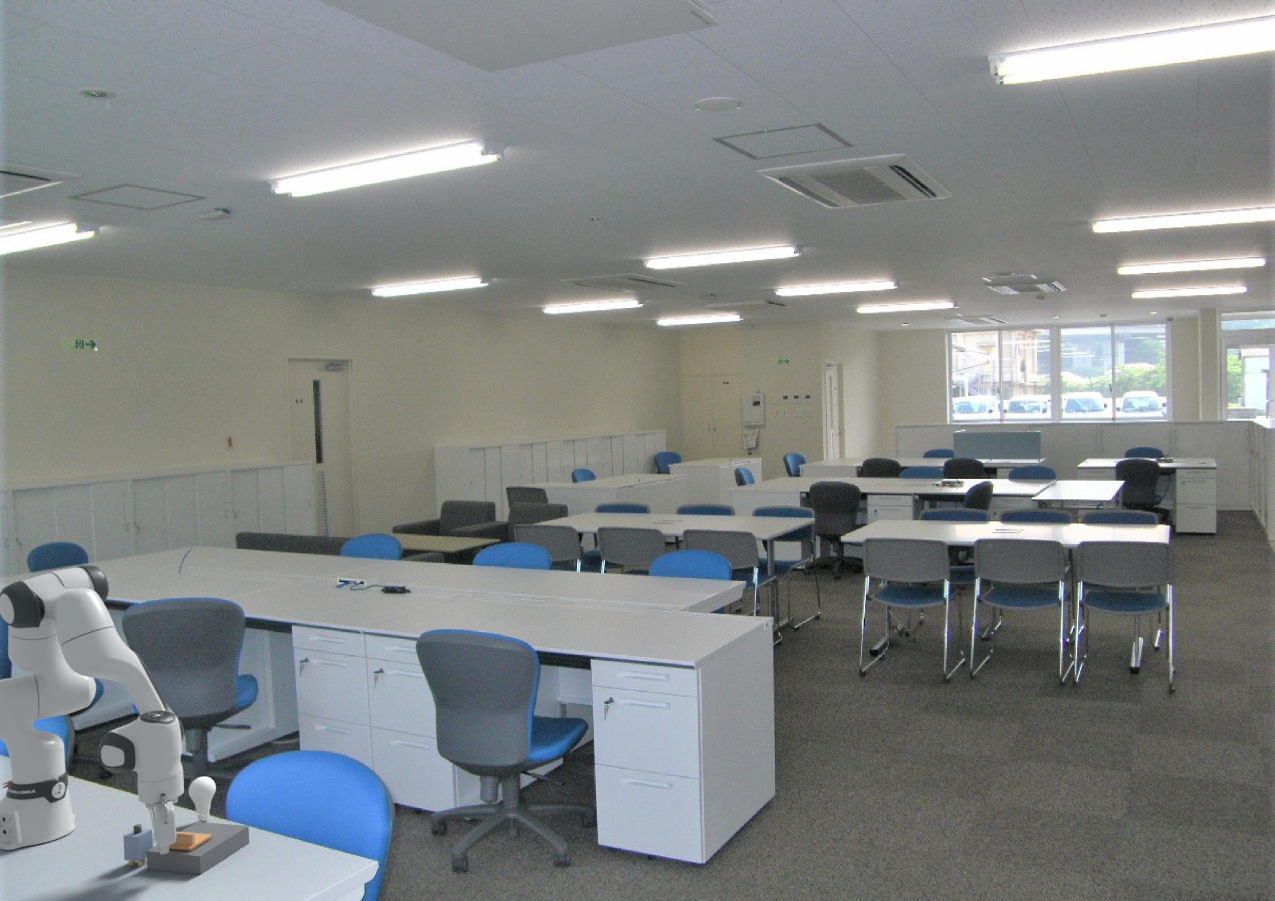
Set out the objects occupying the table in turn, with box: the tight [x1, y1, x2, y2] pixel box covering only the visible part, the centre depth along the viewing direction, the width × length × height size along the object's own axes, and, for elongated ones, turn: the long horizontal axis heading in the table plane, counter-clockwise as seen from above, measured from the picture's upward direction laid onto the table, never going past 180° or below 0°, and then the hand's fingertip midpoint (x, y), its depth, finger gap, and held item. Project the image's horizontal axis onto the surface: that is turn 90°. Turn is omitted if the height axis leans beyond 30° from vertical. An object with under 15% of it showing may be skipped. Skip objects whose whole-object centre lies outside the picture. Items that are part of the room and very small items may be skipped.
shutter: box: [169, 831, 213, 851], centre depth 212 cm, size 7×7×3 cm
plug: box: [122, 824, 154, 868], centre depth 212 cm, size 4×4×8 cm
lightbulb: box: [188, 775, 217, 822], centre depth 235 cm, size 6×6×11 cm
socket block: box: [146, 821, 250, 876], centre depth 215 cm, size 14×16×4 cm
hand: (163, 851), depth 205 cm, fingers closed
